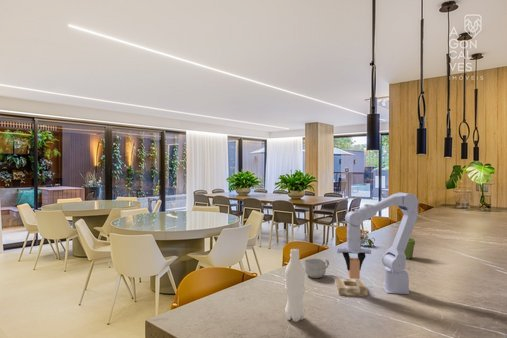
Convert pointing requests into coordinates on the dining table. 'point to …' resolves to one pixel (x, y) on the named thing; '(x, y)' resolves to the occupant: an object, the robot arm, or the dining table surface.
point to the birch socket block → (351, 287)
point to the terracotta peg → (354, 268)
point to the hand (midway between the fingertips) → (353, 269)
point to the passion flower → (366, 239)
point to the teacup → (316, 267)
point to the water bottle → (294, 287)
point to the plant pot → (410, 248)
